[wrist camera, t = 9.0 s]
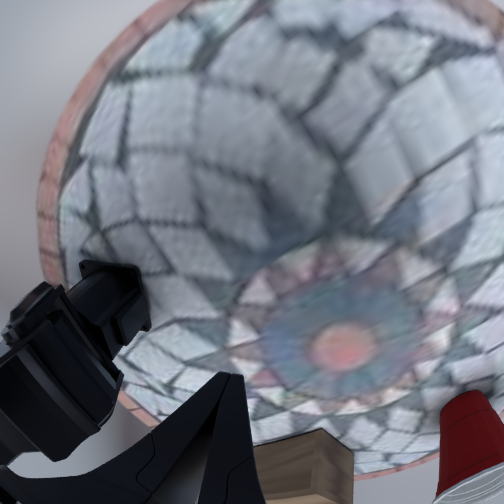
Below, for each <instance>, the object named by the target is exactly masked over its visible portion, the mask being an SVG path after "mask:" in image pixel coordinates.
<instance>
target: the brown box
mask: <svg viewBox="0 0 504 504" xmlns="http://www.w3.org/2000/svg"><path fill="white" fill-rule="evenodd" d="M253 449H254V457H255V462H256V468H257V473H258V478H259V482H260V485H261V489H262V492H263V495H264V498H265V501H266V504H353V484H354V454H353V453H352V452H351V451H349V450H348V449H347V448H345V447H344V446H343V445H341V444H340V443H339V442H337V441H336V440H335V439H333V438H332V437H331V436H330V435H328V434H327V433H326V432H324V431H323V430H322V429H321V430H318V431H314V432H311V433H308V434H305V435H301V436H298V437H294V438H290V439H287V440H283V441H279V442H275V443H271V444H267V445H263V446H258V447H254V448H253Z"/></svg>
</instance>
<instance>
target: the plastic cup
mask: <svg viewBox="0 0 504 504" xmlns="http://www.w3.org/2000/svg"><path fill="white" fill-rule="evenodd" d="M439 465H440V466H439V482H438V487H437V492H436V497H435V499H434V500H433V502H432V504H479V503H482V502H484V501H486V500H488V499H490V498H492V497H494V496H496V495H498V494H500V493H501V492H503V491H504V424H503V422H502V421H501V419H500V417H499V416H498V414H497V413H496V411H495V410H493V408H492V406H491V405H490V403H489V401H488V400H487V398H486V397H485V395H483V394H482V392H480V391H469V392H466V393H464V394H461V395H459V396H458V397H456V398H454V399H452V400H451V401H450V402H449V403H448V404H447V405H445V407H444V408H443V409H442V411H441V414H440V462H439Z"/></svg>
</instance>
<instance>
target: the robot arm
mask: <svg viewBox="0 0 504 504" xmlns="http://www.w3.org/2000/svg"><path fill="white" fill-rule="evenodd" d="M79 268H80V271H81V275H82V280H81V281H79V282H78V283H77V284H76V285H75V286H73V287H72V288H71V289H70V290H69V291H68V292H66V293H65V292H64V291H65V289H64V288H63V286H62V284H59V285H57V286H55V287H53V286H52V285H49V284H48V283H47V282H45V281H44V282H42V283H40V284H39V285H38V286H37V287H35V288H34V289H33V290H31V291H30V292H29V293H28V294H27V295H26V296H25V297H23V299H22V300H21V301H20V302H19V303H18V304H17V305H16V306H15V307H14V308H13V309H12V310H11V312H10V320H9V321H8V323H7V324H6V326H5V328H4V329H3V331H2V332H1V335H2V337H3V339H4V340H3V341H2V342H0V504H195V502H196V499H197V497H198V494H199V492H200V495H199V499H198V504H266V501H265V498H264V495H263V492H262V489H261V485H260V482H259V478H258V473H257V468H256V462H255V457H254V449H253V442H252V435H251V427H250V420H249V413H248V405H247V398H246V390H245V383H244V376H243V375H241V374H234V373H233V374H230V373H228V372H221V371H220V372H218V373H217V374H215V375H214V376H213V377H212V378H211V379H210V380H209V381H208V382H207V383H206V384H205V385H204V386H202V387H201V388H200V389H199V390H198V391H197V392H196V393H195V394H194V395H192V396H191V397H190V398H189V399H188V400H187V401H186V402H185V403H183V404H182V405H181V406H180V407H179V408H178V409H177V410H175V411H174V412H173V413H172V414H171V415H170V416H169V417H167V418H166V419H165V420H164V421H163V422H162V423H160V424H159V425H158V426H157V427H156V428H154V429H153V430H152V431H151V433H148V434H147V435H146V436H145V437H144V438H142V439H141V440H140V441H138V442H137V443H136V444H134V445H133V446H132V447H130V448H129V449H127V450H126V451H124V452H123V453H121V454H120V455H118V456H117V457H115V458H113V459H111V460H110V461H108V462H106V463H105V464H103V465H101V466H99V467H98V468H96V469H94V470H92V471H90V472H88V473H86V474H82V475H78V476H69V477H57V478H25V477H21V476H18V475H17V474H15V473H14V472H13V471H11V470H10V469H9V468H8V467H7V466H8V465H9V464H10V463H11V462H13V461H14V460H15V459H16V458H17V457H18V456H20V455H21V454H22V453H28V452H42V453H43V454H44V455H45V456H47V457H48V458H49V459H50V460H51V461H53V462H57V461H60V460H64V459H66V458H67V457H68V456H69V455H70V454H71V453H72V452H73V451H74V450H75V449H76V448H77V447H78V446H79V445H80V443H82V442H83V441H84V440H86V439H87V438H88V437H89V436H91V435H93V434H95V433H97V432H99V431H100V430H101V427H102V426H103V425H104V424H105V423H106V422H107V421H108V419H109V418H110V417H111V415H112V413H113V411H114V407H115V404H116V401H117V397H118V394H119V391H120V387H121V384H122V381H123V378H124V374H123V373H122V371H121V370H119V369H118V368H117V367H116V365H115V364H114V363H113V362H112V360H113V359H114V358H115V356H116V355H117V354H118V352H119V351H120V350H121V348H122V347H123V346H127V345H129V343H130V342H131V341H132V339H133V338H134V337H135V335H136V334H137V333H138V331H139V330H140V331H145V332H148V331H149V330H150V329H151V322H150V318H149V312H148V307H147V303H146V299H145V294H144V292H143V287H142V282H141V277H140V272H139V269H138V268H137V267H136V266H132V265H123V264H114V263H105V262H97V261H89V260H83V261H81V262H80V263H79ZM132 271H133V272H134V273H133V272H132Z"/></svg>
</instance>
